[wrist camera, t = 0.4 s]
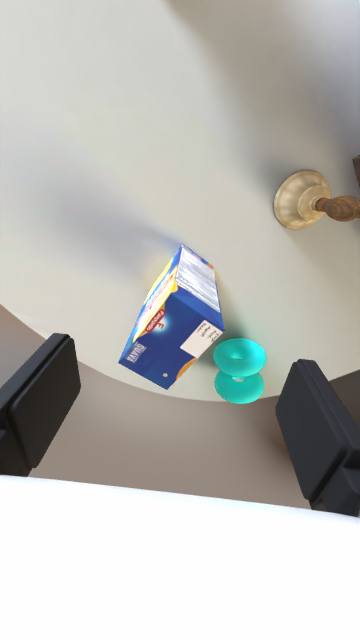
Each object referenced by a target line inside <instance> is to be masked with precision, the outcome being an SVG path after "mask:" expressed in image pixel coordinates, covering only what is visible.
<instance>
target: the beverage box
mask: <svg viewBox="0 0 360 640" xmlns="http://www.w3.org/2000/svg"><path fill="white" fill-rule="evenodd" d="M224 331H225V329H224V325H223V319H222V314H221V308H220V302H219V297H218V291H217V285H216V280H215V274H214V268H213V266H212V265H210V264H209V263H208V262H206V261H205V260H204V259H202V258H201V257H200V256H198V255H197V254H196V253H194V252H193V251H192V250H190V249H189V248H188V247H186V246H185V245H183V244H182V245H181V247H180V248H179V250H178V251H177V252H176V254H175V255H174V257H173V258H172V259H171V261H170V262H169V264H168V265H167V267H166V268H165V269H164V271H163V272H162V274H161V275H160V276H159V278H158V279H157V281H156V282H155V284H154V285H153V286H152V288H151V289H150V291H149V293H148V296H147V298H146V300H145V303H144V305H143V307H142V309H141V312H140V314H139V316H138V319H137V321H136V323H135V325H134V328H133V330H132V332H131V335H130V337H129V339H128V341H127V344H126V346H125V348H124V351H123V353H122V355H121V357H120V360H119V362H118V363H120V364H121V365H123V366H125V367H127V368H128V369H130V370H132V371H134V372H136V373H137V374H139V375H141V376H143V377H145V378H146V379H148V380H150V381H152V382H154V383H155V384H157V385H159V386H161V387H162V388H164V389H166V390H167V389H168V388H169V387H170V386H171V385H172V384H173V383H174V382H175V381H176V380H177V379H178V378H179V377H180V376H181V375H182V374H183V373H184V372H185V371H186V370H187V369H188V368H189V367H190V366H191V365H192V364H193V363H194V361H195V360H196V359H197V358H198V357H199V356H200V355H201V354H202V353H203V352H204V351H205V350H206V349H207V348H208V347H209V346H210V345H211V344H212V343H213V342H214V341H215V340H216V339H217V338H218V337H219V336H220V335H221V334H222V333H223V332H224Z"/></svg>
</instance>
